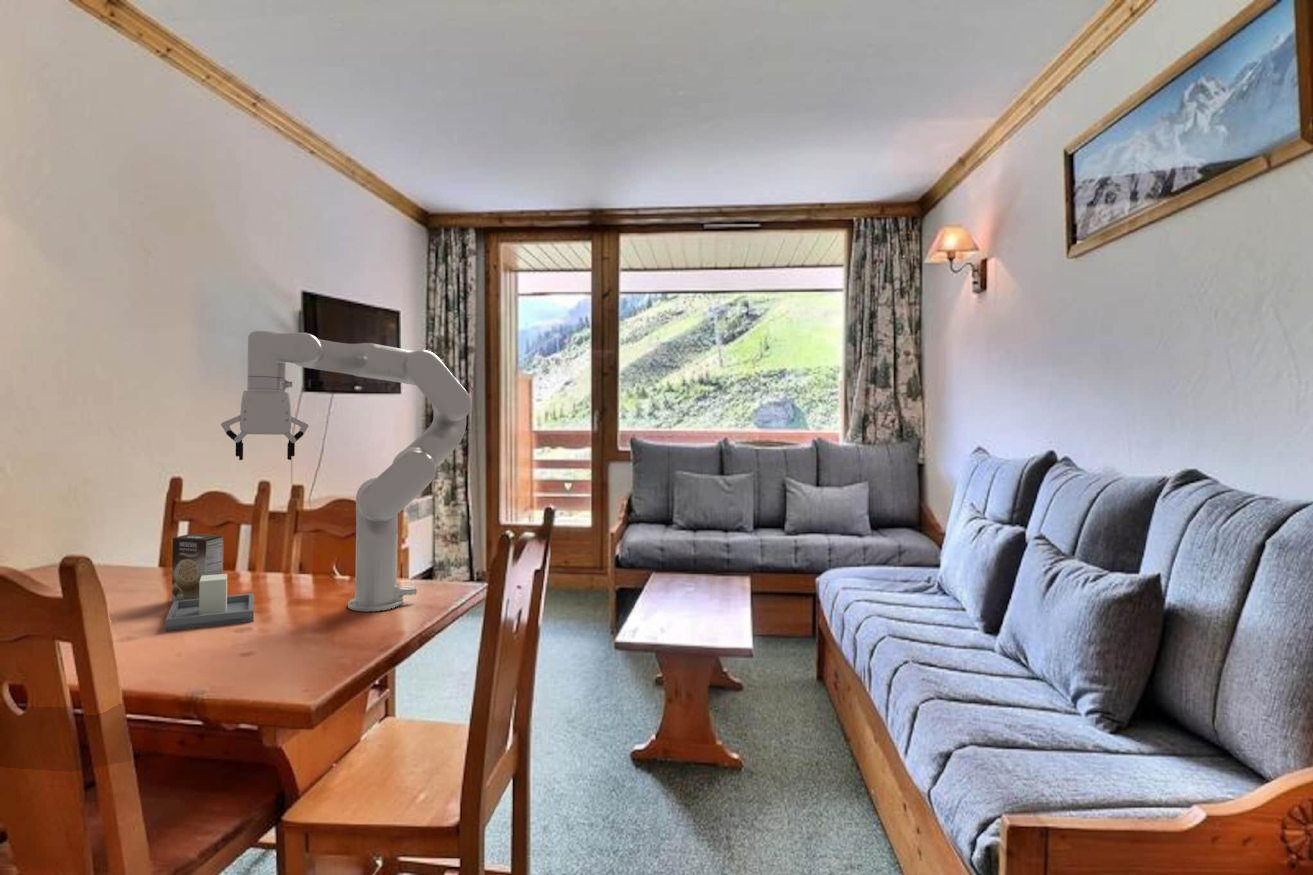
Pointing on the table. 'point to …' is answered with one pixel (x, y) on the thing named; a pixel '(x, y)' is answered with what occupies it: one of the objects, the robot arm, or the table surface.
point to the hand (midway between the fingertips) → (265, 459)
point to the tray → (188, 616)
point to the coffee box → (194, 563)
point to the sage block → (213, 594)
